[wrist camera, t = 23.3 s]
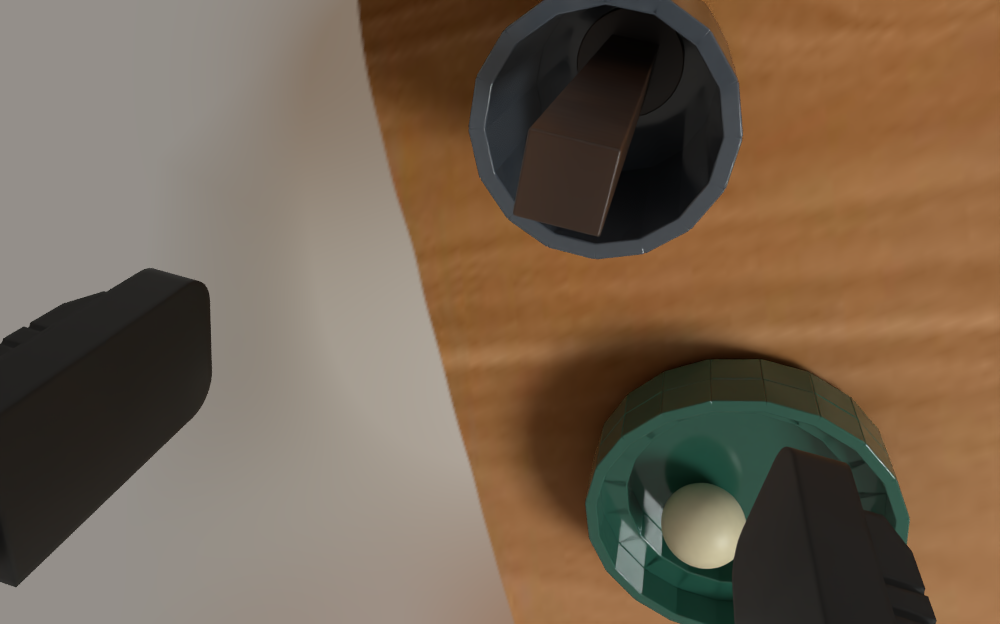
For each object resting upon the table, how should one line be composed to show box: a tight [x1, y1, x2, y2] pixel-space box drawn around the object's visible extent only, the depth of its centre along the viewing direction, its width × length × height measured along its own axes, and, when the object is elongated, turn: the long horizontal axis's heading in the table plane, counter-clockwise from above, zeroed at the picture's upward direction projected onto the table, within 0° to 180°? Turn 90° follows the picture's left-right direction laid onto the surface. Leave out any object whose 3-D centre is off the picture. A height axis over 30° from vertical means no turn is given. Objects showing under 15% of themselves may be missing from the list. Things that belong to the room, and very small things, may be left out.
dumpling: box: [661, 483, 746, 569], centre depth 39 cm, size 4×4×4 cm
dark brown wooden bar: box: [513, 8, 685, 236], centre depth 23 cm, size 4×4×18 cm
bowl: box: [585, 359, 910, 624], centre depth 38 cm, size 15×15×4 cm
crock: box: [469, 0, 743, 259], centre depth 28 cm, size 9×9×10 cm
